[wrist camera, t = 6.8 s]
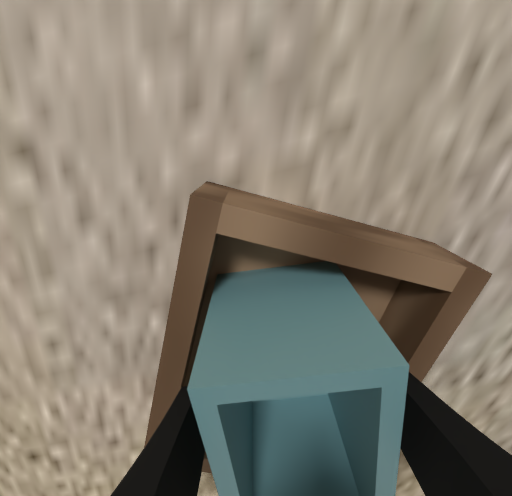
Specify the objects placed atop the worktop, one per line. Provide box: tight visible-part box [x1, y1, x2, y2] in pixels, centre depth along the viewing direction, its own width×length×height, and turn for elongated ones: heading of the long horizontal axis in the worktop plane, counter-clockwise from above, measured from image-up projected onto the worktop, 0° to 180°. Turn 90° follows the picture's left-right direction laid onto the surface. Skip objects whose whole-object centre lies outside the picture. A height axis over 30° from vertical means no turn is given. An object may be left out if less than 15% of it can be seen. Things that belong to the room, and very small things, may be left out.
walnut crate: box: [144, 181, 492, 473], centre depth 12 cm, size 10×13×3 cm
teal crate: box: [187, 261, 409, 496], centre depth 10 cm, size 5×8×6 cm, turn 7°
